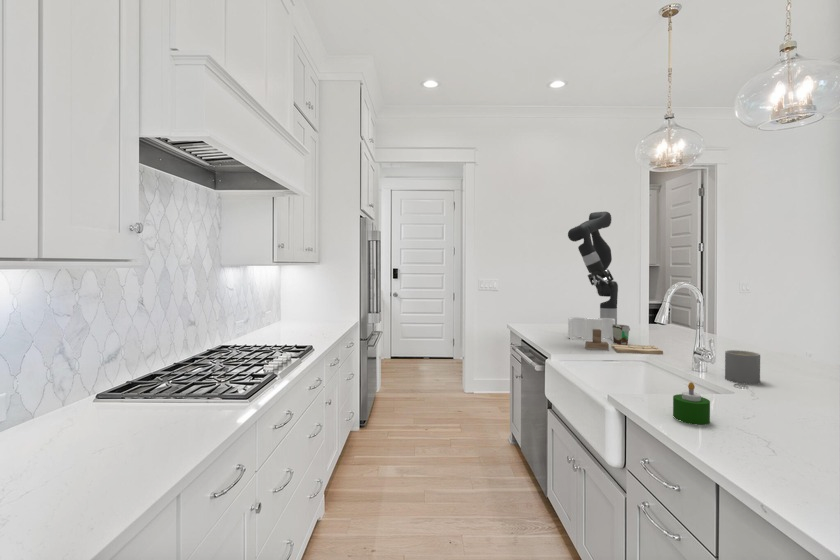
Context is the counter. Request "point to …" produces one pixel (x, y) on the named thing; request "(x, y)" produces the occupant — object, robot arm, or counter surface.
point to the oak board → (636, 349)
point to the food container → (620, 334)
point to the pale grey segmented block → (590, 327)
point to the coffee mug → (742, 366)
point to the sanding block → (597, 342)
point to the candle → (691, 407)
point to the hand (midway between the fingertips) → (606, 290)
